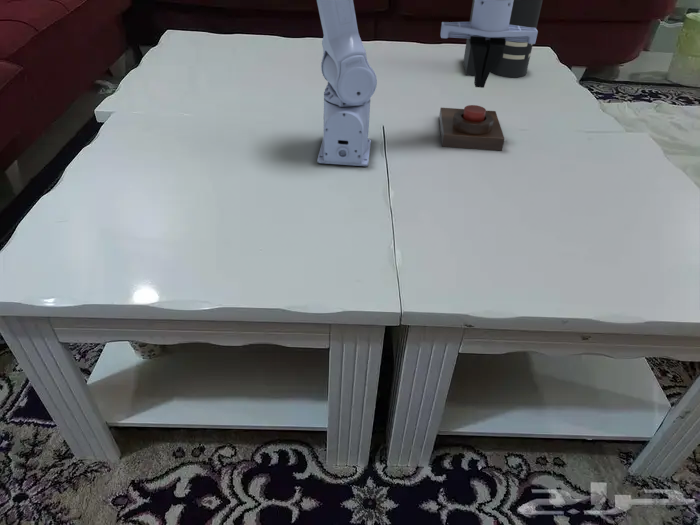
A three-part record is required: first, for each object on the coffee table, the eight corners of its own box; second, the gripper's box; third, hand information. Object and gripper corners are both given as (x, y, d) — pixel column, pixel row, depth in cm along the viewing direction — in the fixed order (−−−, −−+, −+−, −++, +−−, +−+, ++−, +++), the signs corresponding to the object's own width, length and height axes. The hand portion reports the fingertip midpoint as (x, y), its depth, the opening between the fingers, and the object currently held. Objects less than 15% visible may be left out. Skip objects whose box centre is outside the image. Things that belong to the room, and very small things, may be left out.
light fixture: (529, 80, 125) (549, -9, 114) (466, 75, 126) (480, -13, 115) (522, 65, 133) (541, -19, 122) (463, 61, 134) (476, -23, 123)
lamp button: (485, 123, 96) (487, 113, 94) (463, 122, 96) (465, 112, 95) (482, 115, 98) (484, 105, 97) (461, 114, 99) (463, 104, 98)
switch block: (502, 150, 96) (506, 128, 93) (442, 146, 96) (445, 124, 94) (493, 122, 105) (497, 101, 103) (438, 118, 106) (441, 97, 103)
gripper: (538, -8, 88) (519, 80, 96) (444, -13, 89) (433, 74, 97) (547, 3, 83) (526, 95, 91) (447, -3, 83) (435, 88, 91)
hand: (479, 85), depth 94 cm, fingers closed
